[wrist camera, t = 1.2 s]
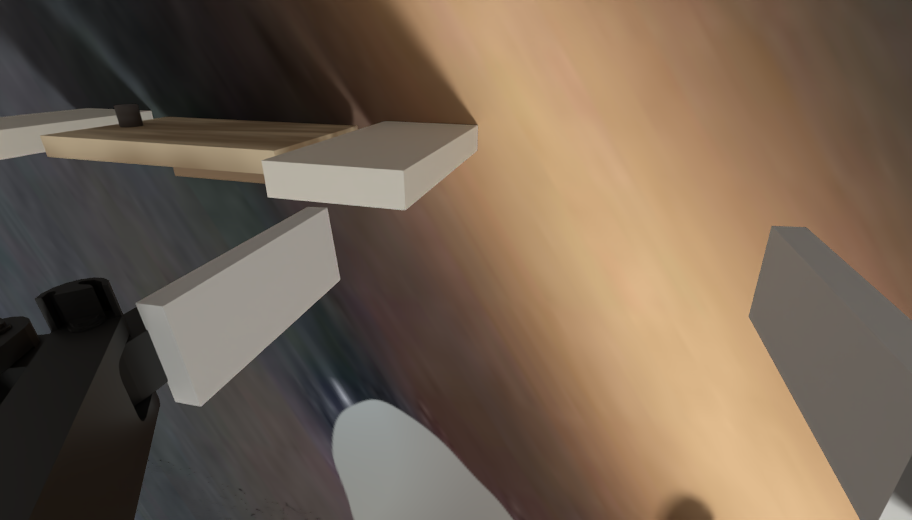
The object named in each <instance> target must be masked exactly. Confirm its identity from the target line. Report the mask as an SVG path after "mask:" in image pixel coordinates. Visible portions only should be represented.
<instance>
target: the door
mask: <svg viewBox="0 0 912 520" xmlns="http://www.w3.org/2000/svg"><path fill="white" fill-rule="evenodd" d="M114 109H115V112H116V116H117V119H118V122H119V124H115V125H108V126H102V127H95V128H88V129H81V130H74V131H67V132H61V133H54V134H47V135H40V137H41V140H42V143H43V145H44V148H45V151H46V153H47V156H48V157H57V158H69V159H82V160H94V161H107V162H119V163H132V164H144V165H156V166H169V167H181V168H194V169H206V170H219V171H231V172H243V173H256V174H264V172H263V167H262V161H261V160H264V159H268V158H271V157H274V156H277V155H280V154H283V153H286V152H290V151H293V150H296V149H299V148H302V147H305V146H308V145H311V144H315V143H318V142H321V141H324V140H327V139H330V138H333V137H337V136H340V135H343V134H346V133H349V132H352V131H355V130H358V127H357V126H353V125H332V124H311V123H290V122H269V121H248V120H227V119H205V118H184V117H163V118H156V119H149V120H143V121H142V118H141V114H140V111H139V107H138V104H121V105H114Z"/></svg>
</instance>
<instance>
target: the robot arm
mask: <svg viewBox="0 0 912 520" xmlns="http://www.w3.org/2000/svg"><path fill="white" fill-rule="evenodd" d="M339 281H340V275H339V270H338V264H337V259H336V253H335V248H334V242H333V237H332V231H331V226H330V220H329V215H328V210H327V208H320V207H307V208H305V209H303V210H301V211H300V212H298V213H296V214H294V215H292V216H291V217H289V218H287V219H285V220H283V221H282V222H280V223H278V224H276V225H274V226H273V227H271V228H269V229H267V230H266V231H264V232H262V233H260V234H258V235H257V236H255V237H253V238H251V239H249V240H248V241H246V242H244V243H242V244H240V245H239V246H237V247H235V248H233V249H231V250H230V251H228V252H226V253H224V254H222V255H221V256H219V257H217V258H215V259H214V260H212V261H210V262H208V263H206V264H205V265H203V266H201V267H199V268H197V269H196V270H194V271H192V272H190V273H188V274H187V275H185V276H183V277H181V278H179V279H178V280H176V281H174V282H172V283H171V284H169V285H167V286H165V287H163V288H162V289H160V290H158V291H156V292H154V293H153V294H151V295H149V296H147V297H145V298H144V299H142V300H140V301H138V302H136V303H135V304H136V306H137V307H136V308H134V309H132V310H131V311H129V312H127V313H125V314H123V313H122V311H121V308H120V306H119V304H118V301H117V299H116V297H115V294H114V292H113V290H112V287H111V285H110V283H109V280H107V279H105V278H87V279H80V280H76V281H72V282H68V283H65V284H62V285H60V286H57V287H54V288H52V289H50V290H48V291H46V292H44V293H42V294H40V295H39V296H38V297H37V298H35V301H36V302H37V304H38V306H39V308H40V310H41V312H42V314H43V316H44V318H45V320H46V322H47V324H48V326H49V328H50V330H51V333H50V334H45V335H37V333H36V331H35V329H34V327H33V326H32V324H31V322H30V320H29V318H26V317H23V316H22V317H9V318H4V319H2V318H0V520H134V518H135V513H136V509H137V504H138V500H139V495H140V491H141V487H142V482H143V478H144V473H145V469H146V465H147V460H148V456H149V451H150V447H151V442H152V438H153V434H154V429H155V425H156V420H157V416H158V412H159V407H160V401H159V398H158V395H157V393H156V390H157V389H159V388H160V387H161V386H162V385H164V384H165V383H166V382H168V385H169V387H170V389H171V392H172V394H173V397H174V399H175V402H179V403H185V404H190V405H195V406H200V407H201V406H202V405H203V404H204V403H206V402H207V401H208V400H209V399H210V398H211V397H212V396H213V395H214V394H215V393H217V392H218V391H219V390H220V389H221V388H222V387H223V386H224V385H225V384H226V383H228V382H229V381H230V380H231V379H232V378H233V377H234V376H235V375H236V374H237V373H239V372H240V371H241V370H242V369H243V368H244V367H245V366H246V365H247V364H248V363H250V362H251V361H252V360H253V359H254V358H255V357H256V356H257V355H258V354H259V353H260V352H262V351H263V350H264V349H265V348H266V347H267V346H268V345H269V344H270V343H271V342H273V341H274V340H275V339H276V338H277V337H278V336H279V335H280V334H281V333H282V332H284V331H285V330H286V329H287V328H288V327H289V326H290V325H291V324H292V323H293V322H295V321H296V320H297V319H298V318H299V317H300V316H301V315H302V314H303V313H304V312H306V311H307V310H308V309H309V308H310V307H311V306H312V305H313V304H314V303H315V302H317V301H318V300H319V299H320V298H321V297H322V296H323V295H324V294H325V293H326V292H328V291H329V290H330V289H331V288H332V287H333V286H334V285H335V284H336V283H337V282H339ZM749 318H750V320H751V322H752V323H753V325H754V327H755V329H756V331H757V333H758V334H759V336H760V338H761V340H762V342H763V343H764V345H765V347H766V349H767V351H768V353H769V354H770V356H771V358H772V360H773V362H774V364H775V365H776V367H777V369H778V371H779V373H780V374H781V376H782V378H783V380H784V382H785V384H786V385H787V387H788V389H789V391H790V393H791V395H792V396H793V398H794V400H795V402H796V404H797V405H798V407H799V409H800V411H801V413H802V415H803V416H804V418H805V420H806V422H807V424H808V426H809V427H810V429H811V431H812V433H813V435H814V436H815V438H816V440H817V442H818V444H819V446H820V447H821V449H822V451H823V453H824V455H825V457H826V458H827V460H828V462H829V464H830V466H831V467H832V469H833V471H834V473H835V475H836V477H837V478H838V480H839V482H840V484H841V486H842V488H843V489H844V491H845V493H846V495H847V497H848V498H849V500H850V502H851V504H852V506H853V508H854V509H855V511H856V513H857V515H858V517H859V519H860V520H912V321H911V320H910V319H909V318H908V317H907V316H906V315H905V314H904V313H902V312H901V311H900V310H899V309H898V308H897V307H896V306H895V305H893V304H892V303H891V302H890V301H889V300H888V299H887V298H885V297H884V296H883V295H882V294H881V293H880V292H879V291H878V290H876V289H875V288H874V287H873V286H872V285H871V284H870V283H869V282H867V281H866V280H865V279H864V278H863V277H862V276H861V275H859V274H858V273H857V272H856V271H855V270H854V269H853V268H852V267H850V266H849V265H848V264H847V263H846V262H845V261H844V260H843V259H841V258H840V257H839V256H838V255H837V254H836V253H835V252H834V251H832V250H831V249H830V248H829V247H828V246H827V245H826V244H824V243H823V242H822V241H821V240H820V239H819V238H818V237H817V236H815V235H814V234H813V233H812V232H811V231H810V230H809V229H808V228H806V227H785V226H772V227H771V231H770V235H769V239H768V243H767V246H766V250H765V254H764V258H763V262H762V266H761V270H760V274H759V278H758V282H757V286H756V290H755V294H754V298H753V302H752V305H751V309H750V313H749Z"/></svg>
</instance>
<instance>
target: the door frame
mask: <svg viewBox="0 0 912 520" xmlns="http://www.w3.org/2000/svg"><path fill="white" fill-rule="evenodd" d="M139 111H140V114H141V118H142V121H143V120H149V119H153V115H152V112H151V111H144V110H139ZM115 124H119V122H118V119H117V116H116V112H115V109H99V108H84V109H74V110H65V111H55V112H46V113H36V114H27V115H17V116H8V117H0V160H2V159H7V158H13V157H19V156H24V155H30V154H36V153H41V152H46V151H45V148H44V145H43V143H42V140H41V137H40V135H47V134H54V133H61V132H67V131H74V130H81V129H88V128H95V127H102V126H108V125H115ZM477 146H478V125H463V124H441V123H418V122H395V121H384V122H380V123H377V124H374V125H371V126H368V127H365V128H362V129H358V130H355V131H352V132H349V133H346V134H343V135H340V136H337V137H333V138H330V139H327V140H324V141H321V142H318V143H315V144H311V145H308V146H305V147H302V148H299V149H296V150H293V151H290V152H286V153H283V154H280V155H277V156H274V157H271V158H268V159H264V160H261V161H262V167H263V172H264V174H256V173H243V172H231V171H219V170H206V169H194V168H181V167H173V168H174V172H175V176H184V177H196V178H208V179H219V180H231V181H242V182H254V183H265V184H266V189H267V195H268V197H271V198H281V199H292V200H302V201H313V202H323V203H334V204H345V205H355V206H366V207H376V208H387V209H397V210H406V209H407V208H409V207H410V206H411V205H412V204H413V203H415V202H416V201H417V200H418V199H420V198H421V197H422V196H423V195H424V194H426V193H427V192H428V191H429V190H430V189H432V188H433V187H434V186H435V185H436V184H438V183H439V182H440V181H441V180H442V179H444V178H445V177H446V176H447V175H448V174H450V173H451V172H452V171H453V170H455V169H456V168H457V167H458V166H459V165H461V164H462V163H463V162H464V161H465V160H467V159H468V158H469V157H470V156H471V155H473V154H474V153H475V152H476V151H477Z"/></svg>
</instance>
